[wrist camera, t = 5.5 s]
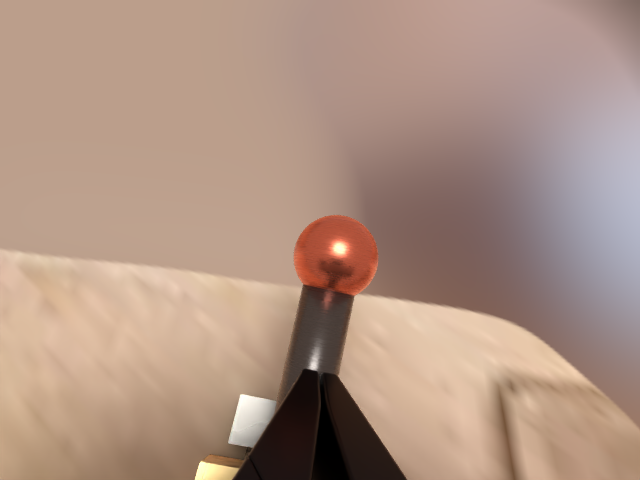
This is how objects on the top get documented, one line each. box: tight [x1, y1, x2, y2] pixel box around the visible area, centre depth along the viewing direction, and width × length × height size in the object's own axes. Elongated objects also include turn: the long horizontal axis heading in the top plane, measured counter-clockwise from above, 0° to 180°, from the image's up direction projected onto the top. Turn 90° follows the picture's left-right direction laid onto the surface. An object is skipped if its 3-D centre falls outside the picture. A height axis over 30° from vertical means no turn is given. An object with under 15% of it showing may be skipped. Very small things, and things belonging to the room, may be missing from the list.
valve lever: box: [274, 215, 378, 414], centre depth 9 cm, size 3×3×13 cm
